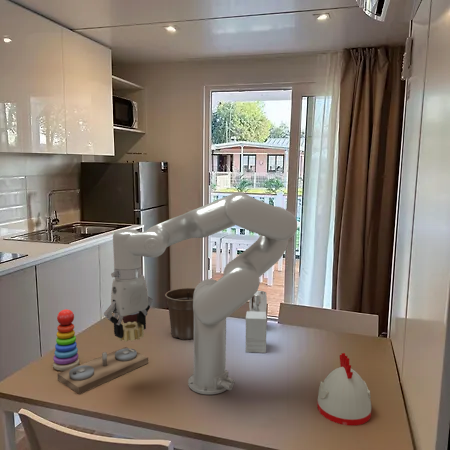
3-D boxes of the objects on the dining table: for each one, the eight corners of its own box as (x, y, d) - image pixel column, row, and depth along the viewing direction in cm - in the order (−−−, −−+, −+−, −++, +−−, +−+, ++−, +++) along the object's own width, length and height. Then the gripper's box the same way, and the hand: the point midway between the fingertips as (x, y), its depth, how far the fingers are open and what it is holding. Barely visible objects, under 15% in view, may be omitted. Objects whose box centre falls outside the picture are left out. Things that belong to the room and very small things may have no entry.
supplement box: (266, 344, 151) (266, 311, 149) (266, 353, 143) (266, 318, 142) (245, 343, 151) (246, 310, 150) (244, 352, 144) (245, 317, 142)
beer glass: (260, 333, 160) (260, 296, 158) (245, 329, 164) (246, 293, 162) (269, 328, 166) (270, 292, 164) (254, 324, 170) (255, 289, 168)
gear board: (148, 363, 136) (148, 345, 135) (79, 394, 117) (78, 374, 116) (126, 352, 143) (125, 335, 142) (57, 379, 124) (56, 361, 123)
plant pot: (160, 329, 164) (160, 290, 162) (198, 323, 171) (198, 285, 168) (173, 345, 149) (172, 302, 147) (214, 338, 156) (214, 296, 154)
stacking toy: (70, 373, 128) (68, 315, 126) (47, 370, 130) (44, 313, 127) (84, 361, 136) (82, 307, 133) (62, 359, 138) (59, 305, 135)
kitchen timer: (360, 395, 118) (363, 345, 116) (379, 425, 104) (383, 369, 102) (311, 395, 117) (313, 345, 115) (325, 425, 103) (327, 369, 101)
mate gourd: (143, 326, 166) (143, 290, 164) (129, 333, 160) (128, 295, 158) (130, 322, 170) (129, 287, 168) (116, 329, 164) (115, 292, 162)
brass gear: (149, 335, 120) (148, 325, 120) (128, 343, 114) (127, 333, 114) (133, 329, 125) (132, 319, 124) (112, 337, 119) (112, 327, 119)
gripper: (109, 282, 108) (112, 346, 110) (160, 269, 121) (162, 326, 124) (93, 277, 113) (96, 338, 115) (144, 265, 126) (146, 320, 128)
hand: (130, 332), depth 119 cm, fingers closed on brass gear, 7 cm apart
